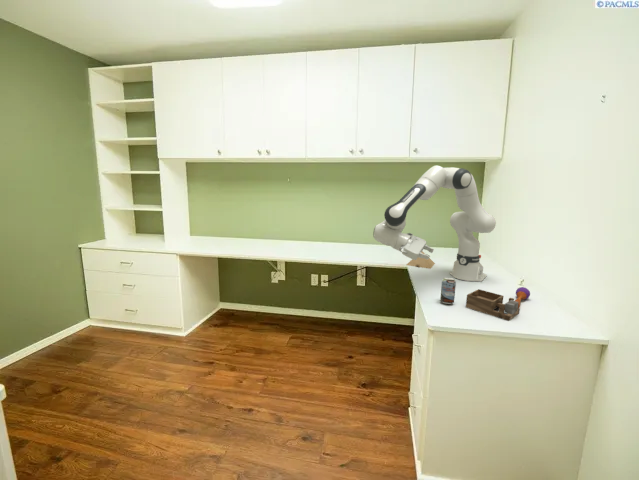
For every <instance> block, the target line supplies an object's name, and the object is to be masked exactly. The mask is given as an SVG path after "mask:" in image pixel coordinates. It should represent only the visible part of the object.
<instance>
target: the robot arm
mask: <svg viewBox="0 0 639 480" xmlns="http://www.w3.org/2000/svg"><path fill="white" fill-rule="evenodd" d="M440 188H443V189H447V190H448V189H451V190H452V189H453V190H454V193H455V194H454V195H455V200H456V204H457V207H458V208H459V210H461V211H455V212H454V213H452V215H450V219H449V223H450V226H451V227H452V228H453V229H454V231H455V233H456V234H457V238H458V249H457V254H456V260H455V261H454V262H453V266H452V271H450V273H449V274H450V275H451V276H452V277H453V278H454V279H458V280H461V281H466V282H467V281H468V282H484V280H485V279H486V277H487V274H486V273H484V266H483V265H482V263H481V262H480V260H481V258H482V255H481V254H480V247H481V246H480V245H481V243H480V241H479V239H477V238H476V237H475V235H474V233H478V234H479V233H480V234H487V233H488V234H489V233H491V232H493V231H494V229H495V227H496V226H497V225H496V224H497V222H496V218H495V216H493V215H491V214H490V213H488V212H487V211H486V209H485V208H484V207H483V205H482V204H481V201H480V198H479V193H478V187H477V183H476V181H475V178H474V176H473V174H472V173H471V172H470V171H469V170H468V169H465V168H459V167H453V166H451V167H444V166H441V165H437V164H436V165H433V166H431V167H430V168H428V170H426V171H425V172H424V173H423V174H422V175H421V176H420V177H419V178H418V180H417V181H416V182H415V183H414V184H413V186H412V187H411V188H410V189H409V190H408V191H407V192H406V193H405V194H404V195H403V196H402V197H401V198H400V199H399V200H397V202H395V203H393V204H391V205H389V206H388V207H387V208H386V209H385V211H384V220H383V221H381V222H380V223H378V224H376V225H375V227H374V228H373V234H372V235H373V239H374V240H375V241H376V242H379V243H380V244H381V245H384V246H386V247H391V248H392V249H394V250H396V251H399V252H401V253H402V255H403V256H405V257H406V258H409V259H411V260H412V259H413V260H416V259H417V258H418V257H419V258H425V259H427V260H428V259H429V258H430V257H431V256H430V255H429V254H426V253H425V254H426V255H425V254H422V253H421V252H422V251H423V250H424V251H427V252H428V253H431V254H432V253H433V252H434V248H432V247H430V246H428V244H427V241H426V240H425V239H423V238H421V237H420V236H416V235H414V233H411V232H408V233H404V232H403V230H404V229H405V227H406V225H407V224H406V223H407V222H406V220H407V218H406V217H407V214H408V212H409V210H410V209H411V208H412V207H413V206H414V204H416V203H417V202H418V201H419V200H421V201H428V200H429V199H431V198H433V196H434V195H435V194H436V193H437V192H438V191H439V189H440Z"/></svg>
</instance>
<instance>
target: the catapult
mask: <svg viewBox="0 0 639 480" xmlns="http://www.w3.org/2000/svg"><path fill="white" fill-rule="evenodd" d="M518 303H519V302H516V301H515V298H513V297H509V298H508V301H507V302H506V303H504V295H502V294H499V293H494V292H491V291H487V290H483V289H475V290H474V291H472V292H470V293H468V294H467V295H466V301H465V308H467V309H471V310H474V311H477V312H479V311H480V312H479V313H481V314H482V313H483V314H485V315H489V316H492V317H495V318H498V319H502V320H504V321H508V322H509V321H511V320H512V319H514V318H515V317H516V316H517V315H519V314H520V311H521V309H520V308H518ZM495 309H498V310H495Z"/></svg>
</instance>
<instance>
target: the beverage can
mask: <svg viewBox="0 0 639 480" xmlns="http://www.w3.org/2000/svg"><path fill="white" fill-rule="evenodd" d="M456 288H457V282H456V278H452V277H451V278H450V277H443V278H442V281H441V289H440V301H441V303H442V304H448V305H451V304H454V303H455V298H456V297H455V295H456V294H455V293H456Z"/></svg>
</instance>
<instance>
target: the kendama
mask: <svg viewBox="0 0 639 480" xmlns="http://www.w3.org/2000/svg"><path fill="white" fill-rule="evenodd" d="M515 295H516V299H514V301H516V302H519V303H518V309H520V306H521V301H523V300H527V299H529V297H530V296H531V292H530V290H529V289H528V288H526V287H524V286H521V287H517V288H516V290H515Z"/></svg>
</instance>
